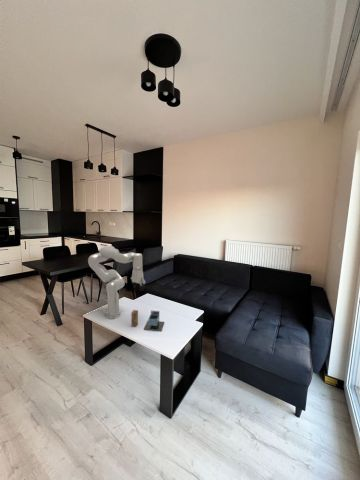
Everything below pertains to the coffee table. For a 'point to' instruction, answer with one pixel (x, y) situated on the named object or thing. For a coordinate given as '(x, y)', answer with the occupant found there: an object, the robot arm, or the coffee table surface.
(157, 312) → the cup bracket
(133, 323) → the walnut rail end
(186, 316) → the coffee table surface
